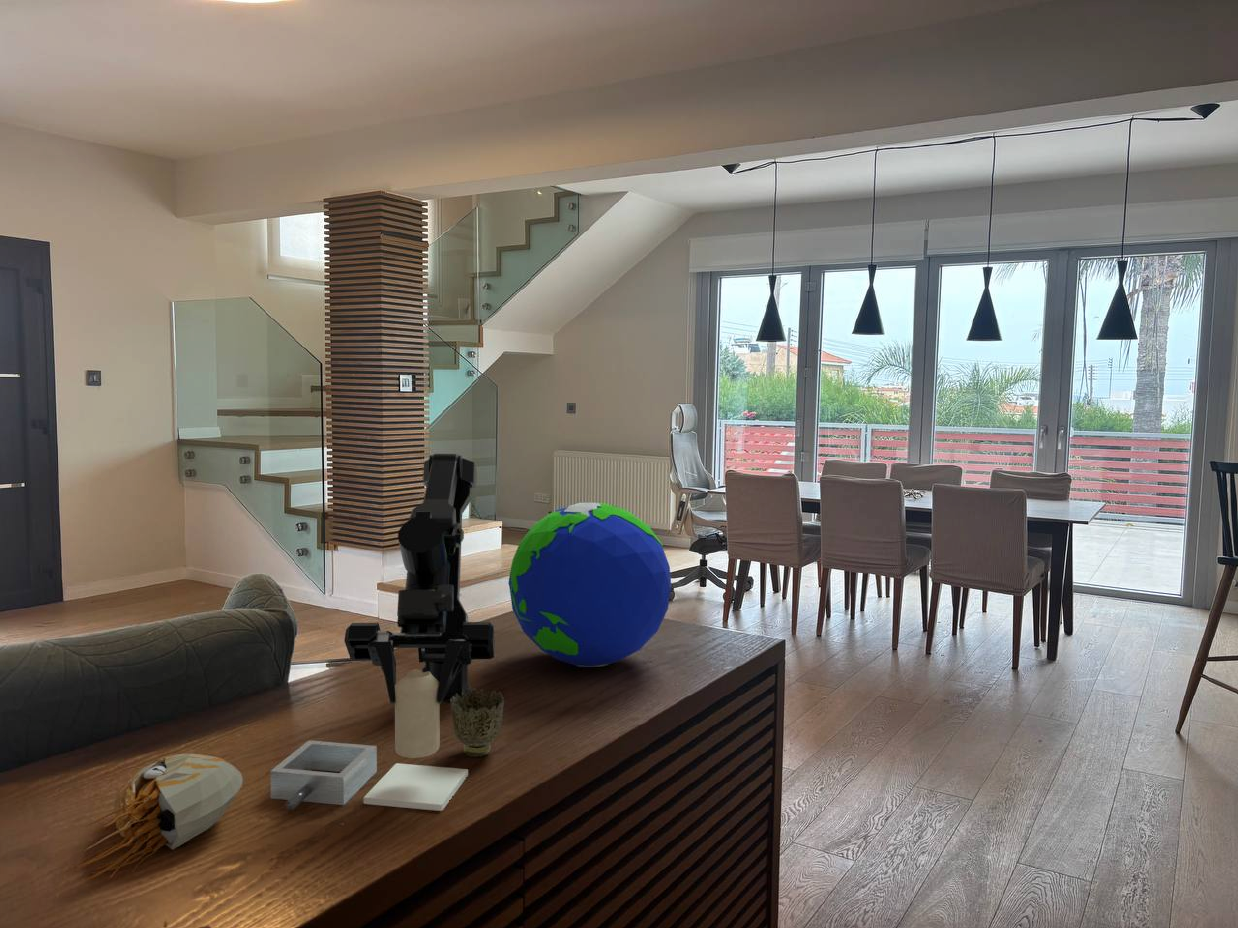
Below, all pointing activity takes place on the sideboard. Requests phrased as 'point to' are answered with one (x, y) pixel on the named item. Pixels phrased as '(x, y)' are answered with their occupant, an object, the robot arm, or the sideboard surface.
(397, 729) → the candle
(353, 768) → the small drawer with knob
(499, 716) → the cup
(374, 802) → the tile
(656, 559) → the globe
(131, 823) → the nautilus
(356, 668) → the sideboard surface
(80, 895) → the sideboard surface
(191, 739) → the sideboard surface
